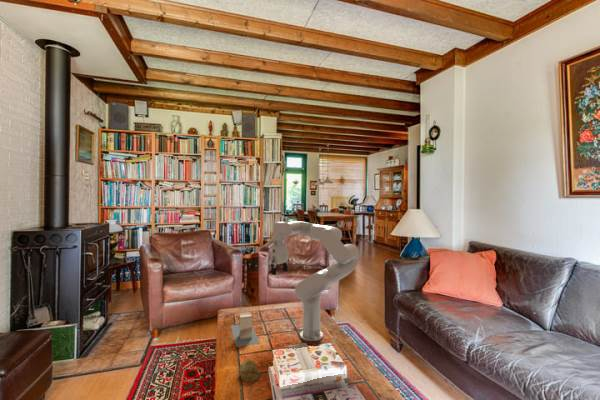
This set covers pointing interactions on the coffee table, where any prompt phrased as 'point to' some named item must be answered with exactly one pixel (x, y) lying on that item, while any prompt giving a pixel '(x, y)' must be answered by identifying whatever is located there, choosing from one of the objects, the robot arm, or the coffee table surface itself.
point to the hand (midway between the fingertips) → (279, 272)
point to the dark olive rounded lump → (249, 371)
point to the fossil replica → (298, 345)
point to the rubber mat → (243, 342)
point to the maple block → (245, 326)
